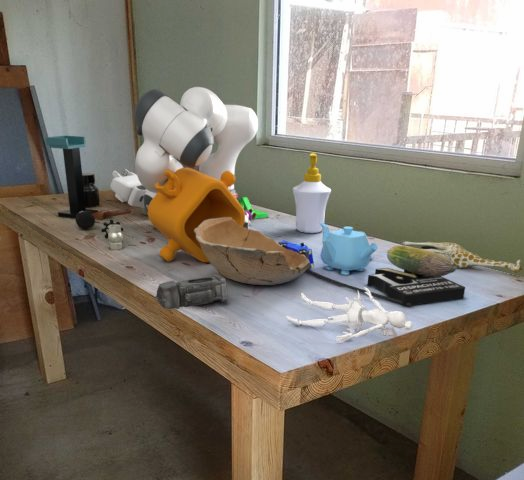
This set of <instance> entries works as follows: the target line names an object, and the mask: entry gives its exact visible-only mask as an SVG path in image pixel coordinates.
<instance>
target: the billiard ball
mask: <svg viewBox="0 0 524 480" xmlns="http://www.w3.org/2000/svg"><path fill="white" fill-rule="evenodd" d="M74 220H75V225H76V226H77V227H78V228H79V229H81V230H84V231H85V230H86V231H88V230H90V229H92V228H93V227H94V226H95V223H96V220H95V218H94V216H93V215H92V213H90V212H89V211H81V212H79V213H78V214H77V215H76V219H74Z"/></svg>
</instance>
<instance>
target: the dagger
mask: <svg viewBox="0 0 524 480" xmlns="http://www.w3.org/2000/svg"><path fill="white" fill-rule="evenodd" d="M114 193H115V192H114ZM114 197H115V198H116V199H117V200H119V201H120V202H121V203H124V202H125V203H126V202H127V203H128V201H127V200H125V199H123V198H121V197H120V196H119V195H118V194H116V193H115V194H114Z"/></svg>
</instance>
